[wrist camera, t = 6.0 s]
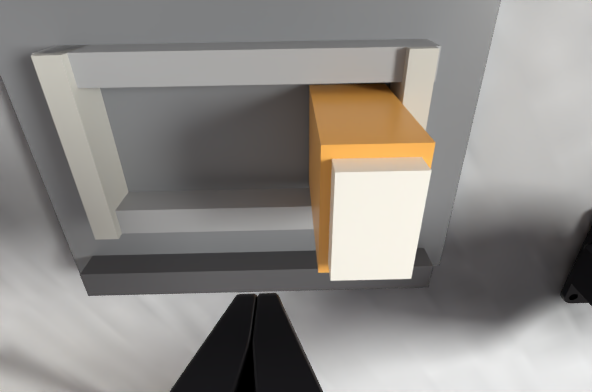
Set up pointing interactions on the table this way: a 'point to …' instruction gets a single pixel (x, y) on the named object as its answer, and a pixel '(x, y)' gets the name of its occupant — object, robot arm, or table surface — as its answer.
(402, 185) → the toggle
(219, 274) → the grey rectangular base plate
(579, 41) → the table surface
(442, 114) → the grey rectangular tray
